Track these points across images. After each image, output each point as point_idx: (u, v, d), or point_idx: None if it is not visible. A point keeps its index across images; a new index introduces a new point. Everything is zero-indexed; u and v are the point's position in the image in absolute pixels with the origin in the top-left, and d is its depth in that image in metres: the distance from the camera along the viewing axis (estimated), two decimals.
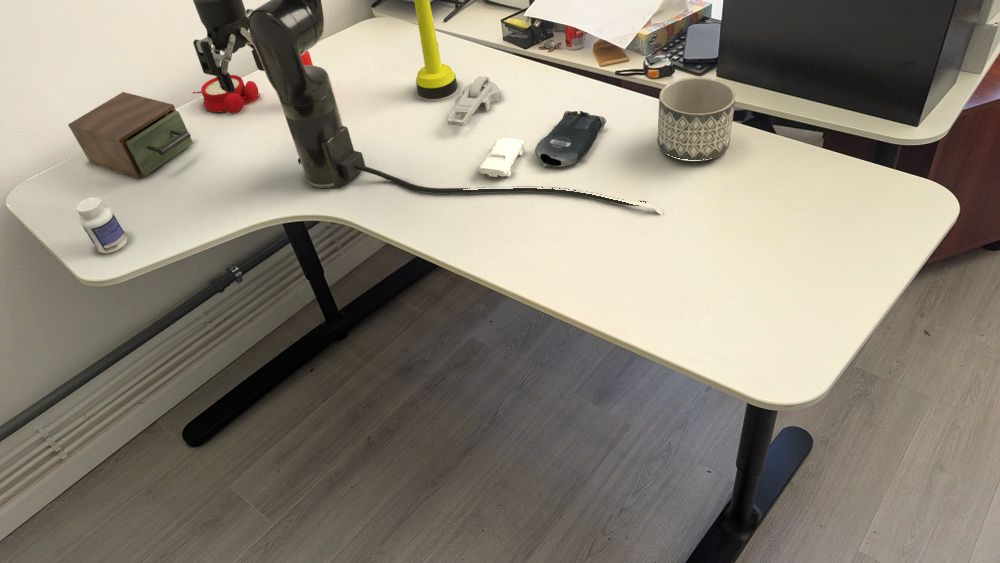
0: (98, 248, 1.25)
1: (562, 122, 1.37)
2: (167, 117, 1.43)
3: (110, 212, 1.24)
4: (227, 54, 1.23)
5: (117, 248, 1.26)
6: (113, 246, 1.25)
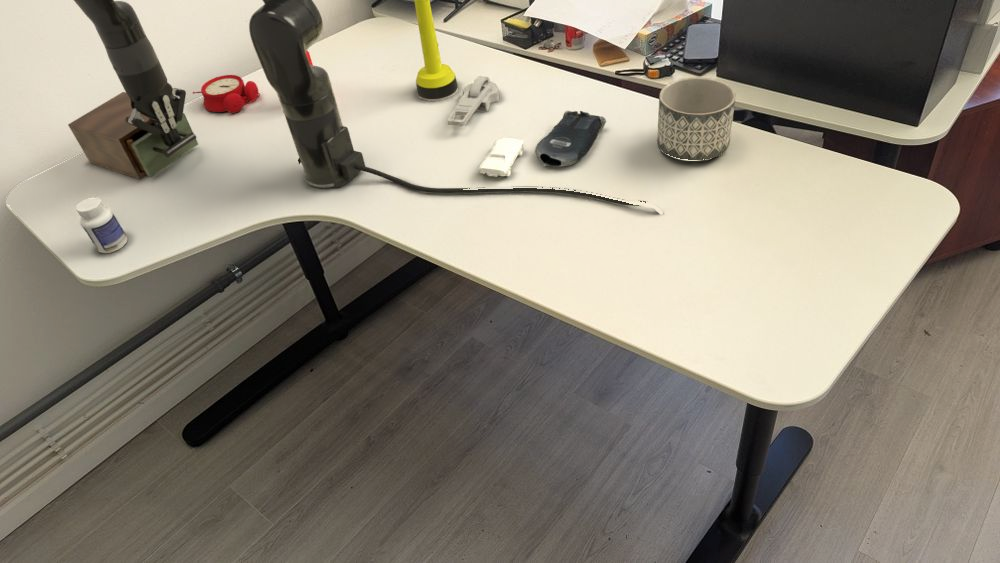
0: (98, 248, 1.25)
1: (562, 122, 1.37)
2: None
3: (110, 212, 1.24)
4: (160, 119, 1.35)
5: (117, 248, 1.26)
6: (113, 246, 1.25)
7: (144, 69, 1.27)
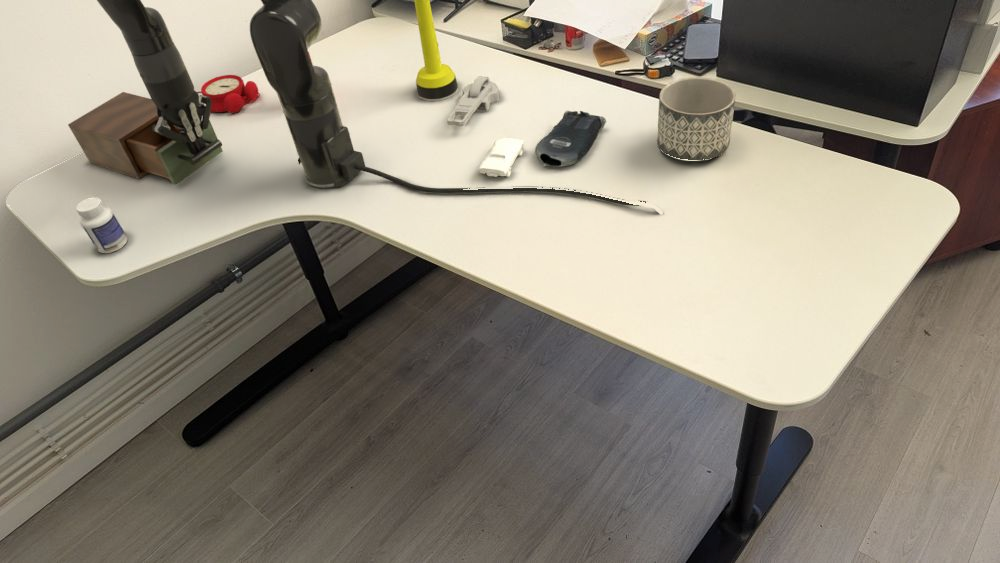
0: (98, 248, 1.25)
1: (562, 122, 1.37)
2: None
3: (110, 212, 1.24)
4: (186, 127, 1.32)
5: (117, 248, 1.26)
6: (113, 246, 1.25)
7: (172, 77, 1.24)
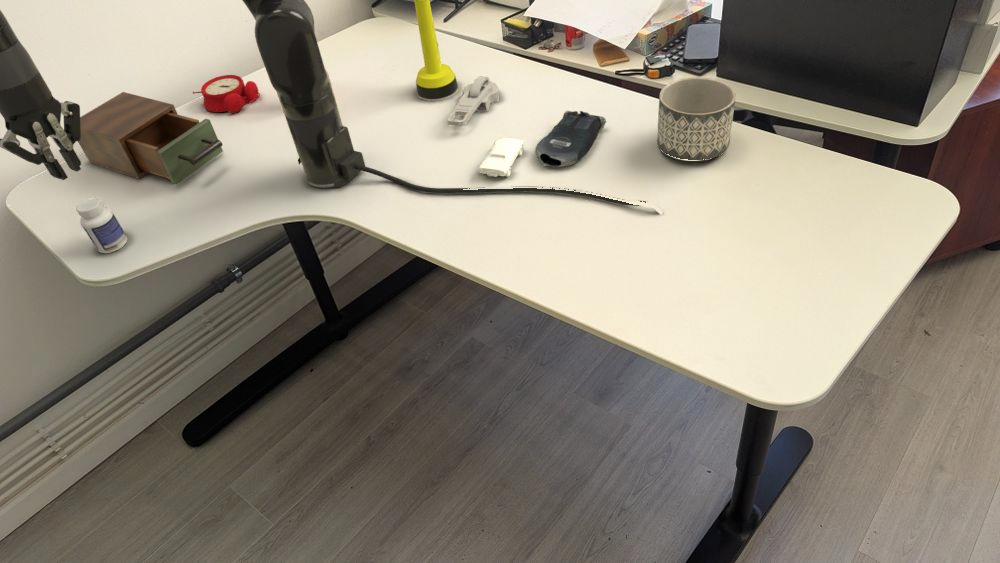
0: (98, 248, 1.25)
1: (562, 122, 1.37)
2: (198, 125, 1.39)
3: (110, 212, 1.24)
4: (42, 143, 1.11)
5: (117, 248, 1.26)
6: (113, 246, 1.25)
7: (17, 83, 1.04)
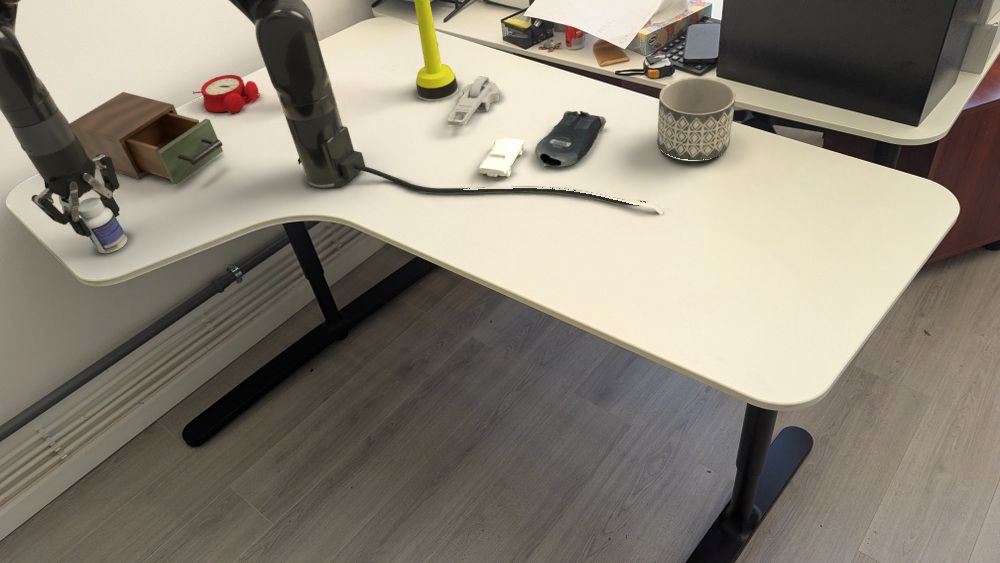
0: (98, 248, 1.25)
1: (562, 122, 1.37)
2: (198, 125, 1.39)
3: (110, 212, 1.24)
4: (73, 202, 1.18)
5: (117, 248, 1.26)
6: (113, 246, 1.25)
7: (57, 148, 1.11)
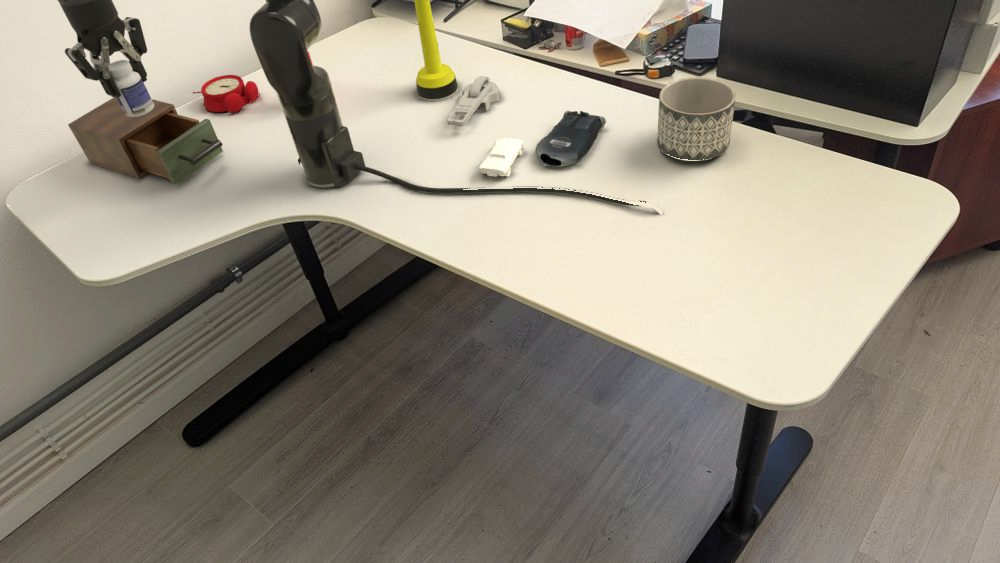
0: (126, 111, 1.30)
1: (562, 122, 1.37)
2: (198, 125, 1.39)
3: (138, 75, 1.28)
4: (104, 59, 1.22)
5: (145, 112, 1.30)
6: (141, 109, 1.30)
7: None
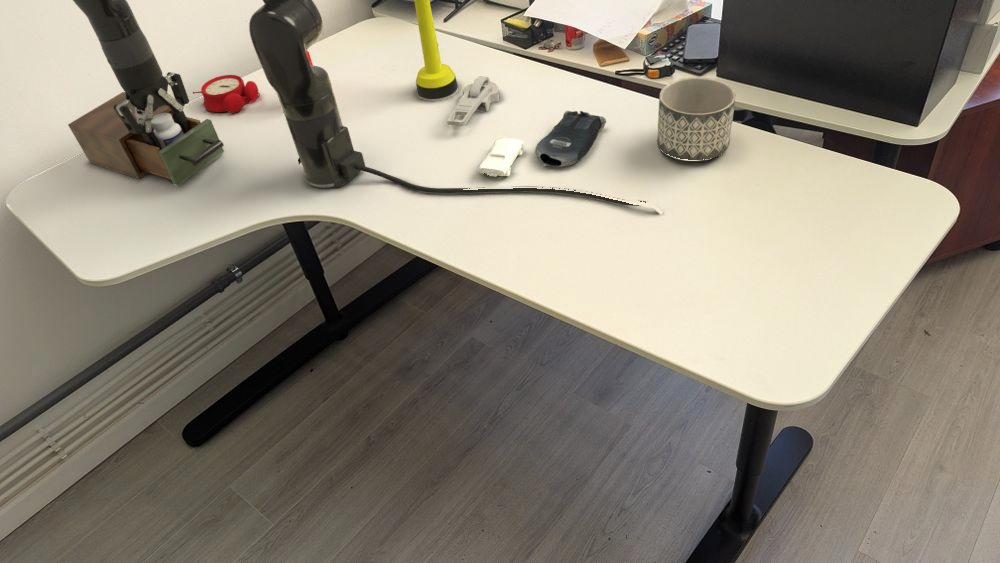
0: None
1: (562, 122, 1.37)
2: (199, 126, 1.39)
3: (179, 126, 1.39)
4: (148, 114, 1.33)
5: None
6: None
7: (138, 62, 1.27)
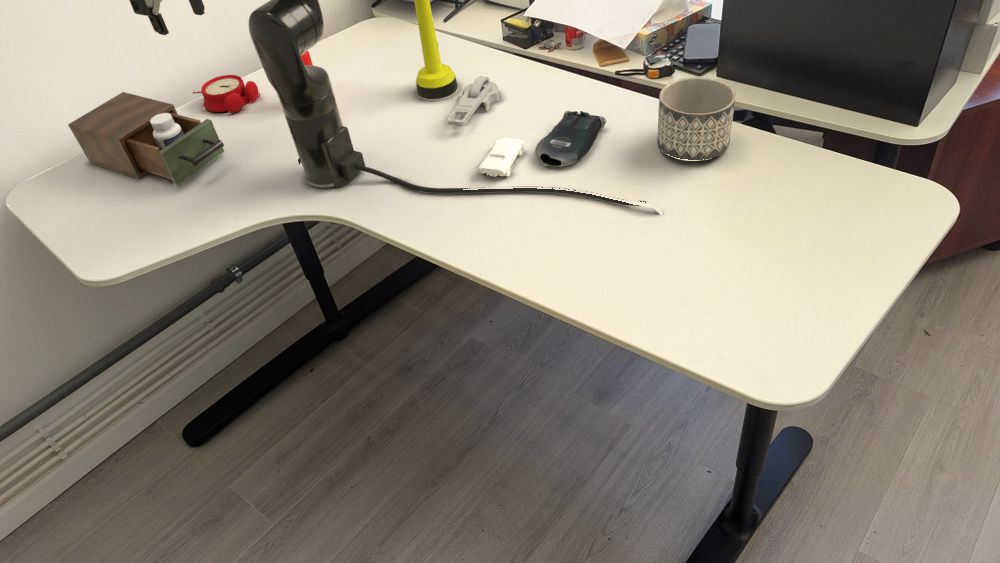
0: None
1: (562, 122, 1.37)
2: (199, 126, 1.39)
3: (179, 126, 1.39)
4: None
5: None
6: None
7: None
